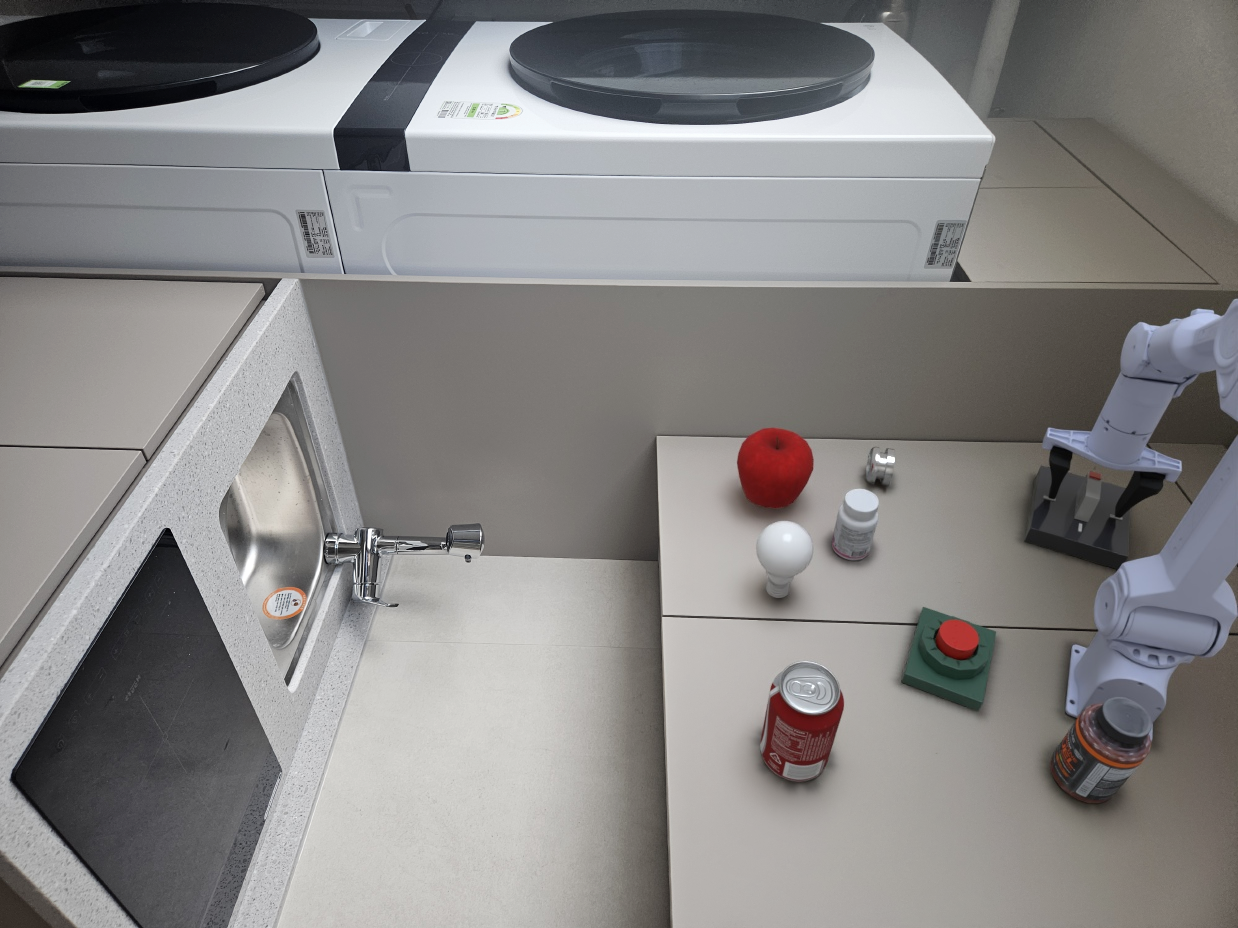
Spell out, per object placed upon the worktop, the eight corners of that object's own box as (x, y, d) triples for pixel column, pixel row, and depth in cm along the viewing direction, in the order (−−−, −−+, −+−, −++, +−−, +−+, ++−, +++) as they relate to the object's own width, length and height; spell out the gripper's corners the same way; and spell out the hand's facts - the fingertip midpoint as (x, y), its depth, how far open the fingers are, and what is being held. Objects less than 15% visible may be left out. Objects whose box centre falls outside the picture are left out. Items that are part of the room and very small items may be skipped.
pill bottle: (837, 528, 104) (849, 481, 98) (874, 541, 102) (887, 494, 97) (825, 552, 101) (836, 505, 95) (862, 566, 99) (876, 519, 94)
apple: (747, 530, 104) (755, 468, 97) (722, 481, 111) (728, 420, 104) (818, 516, 106) (831, 454, 98) (789, 469, 113) (800, 408, 105)
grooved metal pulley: (887, 493, 109) (895, 465, 105) (864, 489, 109) (871, 462, 106) (887, 468, 112) (894, 441, 109) (865, 465, 113) (872, 438, 110)
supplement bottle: (1040, 745, 81) (1081, 682, 74) (1101, 750, 81) (1149, 687, 73) (1058, 803, 77) (1104, 742, 69) (1123, 808, 76) (1177, 748, 69)
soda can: (827, 790, 78) (848, 725, 70) (757, 778, 79) (770, 713, 71) (826, 727, 83) (846, 660, 75) (760, 717, 84) (773, 650, 76)
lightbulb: (784, 622, 93) (796, 560, 86) (739, 594, 96) (747, 531, 89) (813, 590, 97) (828, 527, 89) (770, 564, 100) (780, 501, 92)
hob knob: (1087, 522, 101) (1100, 498, 98) (1073, 518, 101) (1086, 494, 98) (1090, 497, 104) (1102, 473, 101) (1076, 493, 105) (1088, 469, 102)
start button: (971, 665, 85) (975, 655, 84) (932, 651, 86) (936, 641, 85) (977, 637, 87) (981, 627, 86) (939, 624, 89) (943, 614, 88)
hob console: (1120, 570, 98) (1128, 555, 96) (1024, 541, 102) (1030, 526, 100) (1123, 502, 107) (1131, 488, 105) (1034, 478, 110) (1041, 464, 109)
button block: (978, 711, 84) (988, 692, 82) (901, 682, 87) (908, 663, 85) (992, 640, 91) (1001, 621, 89) (919, 615, 94) (926, 596, 91)
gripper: (1198, 416, 93) (1148, 500, 102) (1062, 385, 98) (1027, 467, 107) (1200, 453, 88) (1148, 537, 98) (1057, 417, 93) (1020, 500, 103)
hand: (1084, 503), depth 102 cm, fingers open, 7 cm apart
